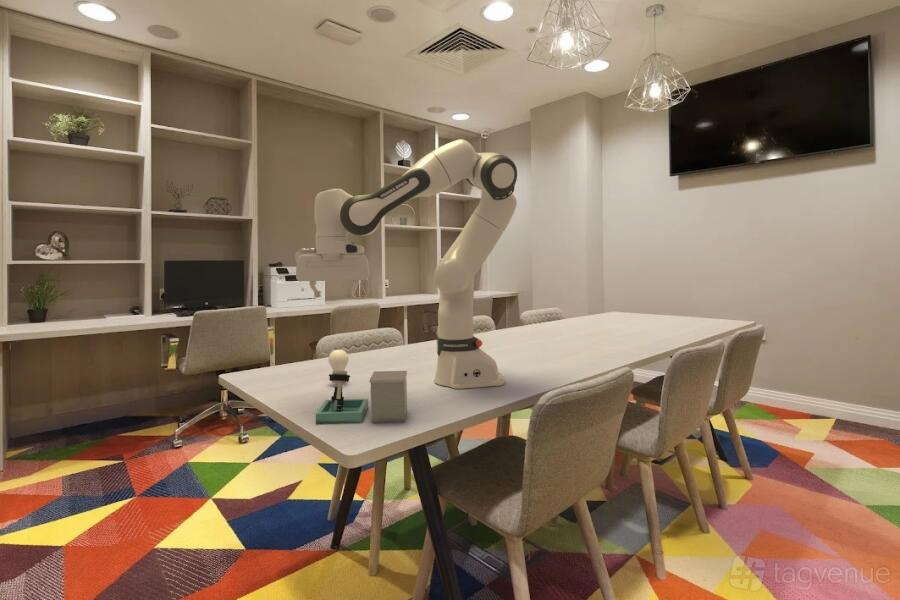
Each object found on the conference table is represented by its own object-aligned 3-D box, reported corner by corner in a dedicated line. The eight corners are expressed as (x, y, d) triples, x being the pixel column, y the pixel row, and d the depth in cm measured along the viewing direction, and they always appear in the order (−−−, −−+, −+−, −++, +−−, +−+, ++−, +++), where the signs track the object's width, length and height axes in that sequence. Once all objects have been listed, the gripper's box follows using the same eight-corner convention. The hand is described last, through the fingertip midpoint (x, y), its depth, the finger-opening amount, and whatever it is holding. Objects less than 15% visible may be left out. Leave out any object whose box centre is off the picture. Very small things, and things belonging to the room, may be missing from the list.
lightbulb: (351, 381, 151) (350, 347, 150) (345, 386, 145) (344, 351, 144) (333, 381, 151) (332, 347, 150) (326, 386, 145) (325, 351, 144)
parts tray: (368, 407, 124) (367, 398, 124) (361, 422, 113) (361, 412, 113) (326, 409, 124) (326, 399, 123) (315, 423, 113) (315, 413, 112)
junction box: (408, 410, 121) (407, 370, 120) (406, 422, 113) (404, 379, 112) (374, 411, 121) (373, 371, 120) (369, 423, 112) (368, 380, 111)
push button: (349, 412, 114) (353, 370, 117) (327, 411, 113) (331, 369, 115) (345, 411, 120) (348, 372, 123) (324, 410, 119) (328, 371, 121)
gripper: (291, 248, 128) (294, 298, 129) (366, 246, 129) (368, 297, 130) (297, 248, 134) (300, 296, 135) (369, 247, 135) (371, 295, 136)
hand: (334, 297), depth 133 cm, fingers open, 8 cm apart
